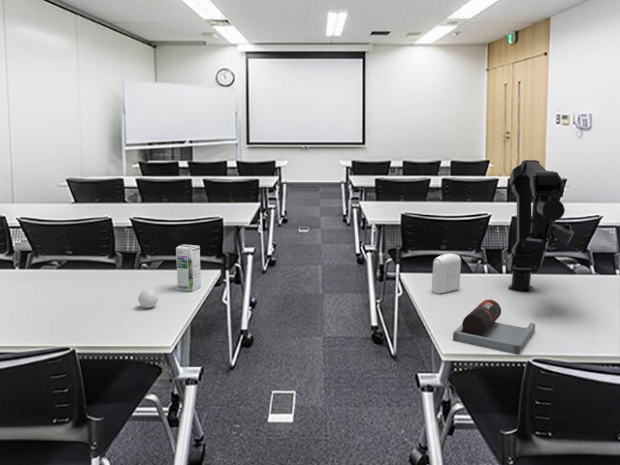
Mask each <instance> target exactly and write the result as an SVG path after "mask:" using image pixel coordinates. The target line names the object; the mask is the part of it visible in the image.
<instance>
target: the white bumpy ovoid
mask: <svg viewBox="0 0 620 465" xmlns="http://www.w3.org/2000/svg"><path fill="white" fill-rule="evenodd" d="M137 301H138V303H139V305H140V306H141V307H143V308H145V309H151V308H153V307H155V306H157V304H158V301H159V296H158V293H157V292H156V291H155V290H154V289H151V288H146V289H144V290H142V291H141V292H140V293H139V295H138V300H137Z"/></svg>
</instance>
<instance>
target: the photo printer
mask: <svg viewBox="0 0 620 465" xmlns="http://www.w3.org/2000/svg"><path fill="white" fill-rule="evenodd" d="M461 265H462V258H461V256H460V255H459V254H455V253H444V254H441V255H439V256H437V257H435V258H434V259H433V262H432V279H431V290H432V293H434V294H445V293H449V292H453V291H458V290H459V289H460V282H461V269H462V266H461Z"/></svg>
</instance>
